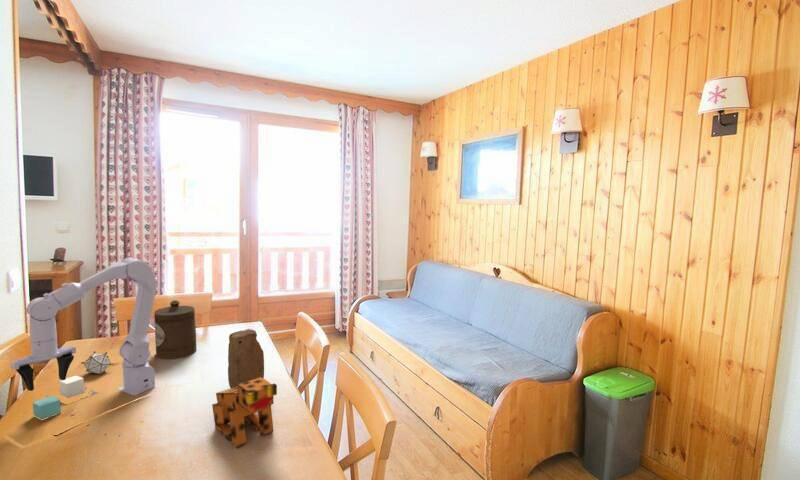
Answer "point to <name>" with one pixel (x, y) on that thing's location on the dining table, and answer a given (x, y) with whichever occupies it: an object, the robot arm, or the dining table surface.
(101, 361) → the game die
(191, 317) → the wooden container
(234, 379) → the block
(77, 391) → the cream brick
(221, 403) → the toy animal
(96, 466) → the dining table surface
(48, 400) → the teal brick
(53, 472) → the dining table surface
